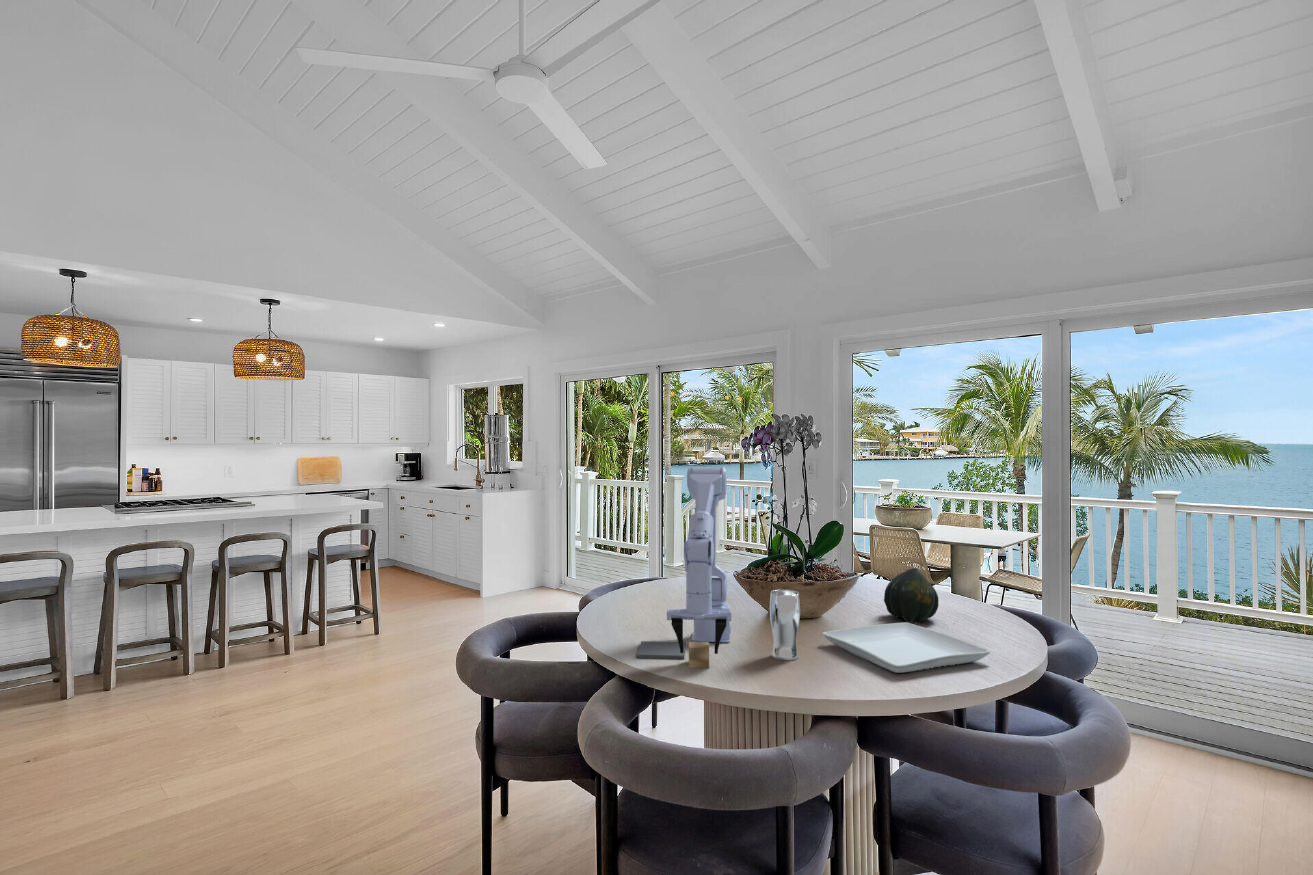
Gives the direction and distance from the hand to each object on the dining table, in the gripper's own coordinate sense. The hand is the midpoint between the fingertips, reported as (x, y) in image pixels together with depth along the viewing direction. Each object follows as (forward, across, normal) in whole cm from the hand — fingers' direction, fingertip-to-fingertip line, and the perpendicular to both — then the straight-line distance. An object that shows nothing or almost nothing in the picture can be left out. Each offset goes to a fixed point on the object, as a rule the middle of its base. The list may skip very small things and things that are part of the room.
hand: (699, 652), depth 150 cm
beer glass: (+3, +20, +7) cm, 21 cm away
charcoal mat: (+3, -9, +9) cm, 13 cm away
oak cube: (+3, 0, 0) cm, 3 cm away
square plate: (+3, +48, +11) cm, 49 cm away
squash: (+3, +60, +45) cm, 75 cm away
